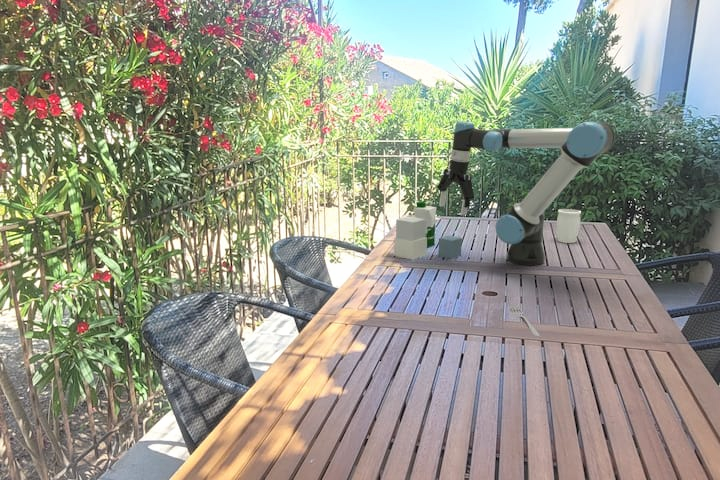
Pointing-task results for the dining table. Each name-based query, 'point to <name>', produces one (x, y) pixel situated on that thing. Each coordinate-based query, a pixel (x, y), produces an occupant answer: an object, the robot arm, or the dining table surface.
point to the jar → (568, 225)
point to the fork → (525, 320)
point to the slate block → (450, 247)
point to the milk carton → (427, 220)
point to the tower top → (411, 228)
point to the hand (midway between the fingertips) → (452, 210)
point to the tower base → (410, 248)
